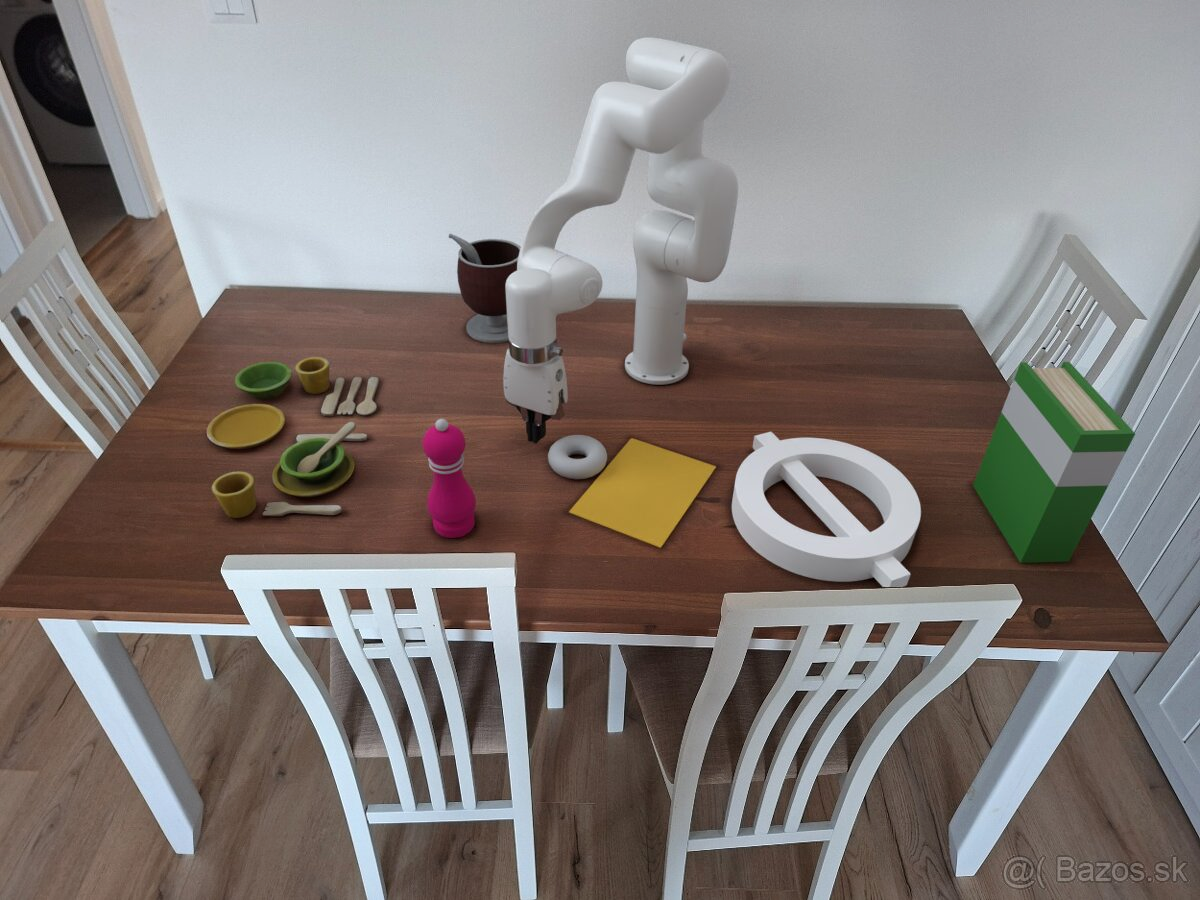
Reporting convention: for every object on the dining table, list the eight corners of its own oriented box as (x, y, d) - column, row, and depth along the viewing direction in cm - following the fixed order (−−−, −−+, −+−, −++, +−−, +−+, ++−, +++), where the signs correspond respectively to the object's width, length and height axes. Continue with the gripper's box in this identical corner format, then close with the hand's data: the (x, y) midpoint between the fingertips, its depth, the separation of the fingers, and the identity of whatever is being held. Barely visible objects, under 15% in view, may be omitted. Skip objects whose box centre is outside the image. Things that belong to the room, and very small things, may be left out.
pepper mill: (469, 544, 125) (457, 438, 112) (423, 536, 126) (406, 431, 113) (484, 512, 130) (474, 408, 118) (440, 505, 131) (425, 402, 119)
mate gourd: (536, 316, 179) (534, 228, 167) (517, 348, 169) (512, 257, 156) (468, 307, 182) (461, 220, 169) (445, 338, 171) (435, 248, 159)
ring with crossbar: (754, 444, 145) (757, 422, 142) (920, 484, 137) (927, 462, 134) (711, 550, 124) (714, 526, 122) (903, 604, 117) (912, 580, 114)
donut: (595, 489, 135) (615, 453, 143) (595, 474, 133) (615, 437, 141) (538, 475, 138) (561, 440, 145) (538, 460, 136) (560, 425, 143)
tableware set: (342, 522, 128) (335, 491, 124) (159, 524, 127) (145, 493, 123) (387, 375, 160) (382, 347, 156) (241, 376, 159) (232, 348, 155)
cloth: (631, 438, 146) (631, 437, 146) (716, 467, 140) (716, 466, 140) (568, 512, 130) (568, 511, 130) (660, 548, 125) (660, 547, 124)
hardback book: (972, 485, 137) (1020, 362, 122) (1016, 484, 138) (1069, 361, 123) (1020, 562, 124) (1080, 434, 109) (1068, 561, 124) (1135, 433, 109)
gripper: (585, 347, 131) (584, 439, 143) (505, 324, 137) (511, 414, 148) (562, 370, 126) (563, 463, 137) (480, 345, 131) (487, 437, 143)
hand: (536, 438), depth 143 cm, fingers closed
